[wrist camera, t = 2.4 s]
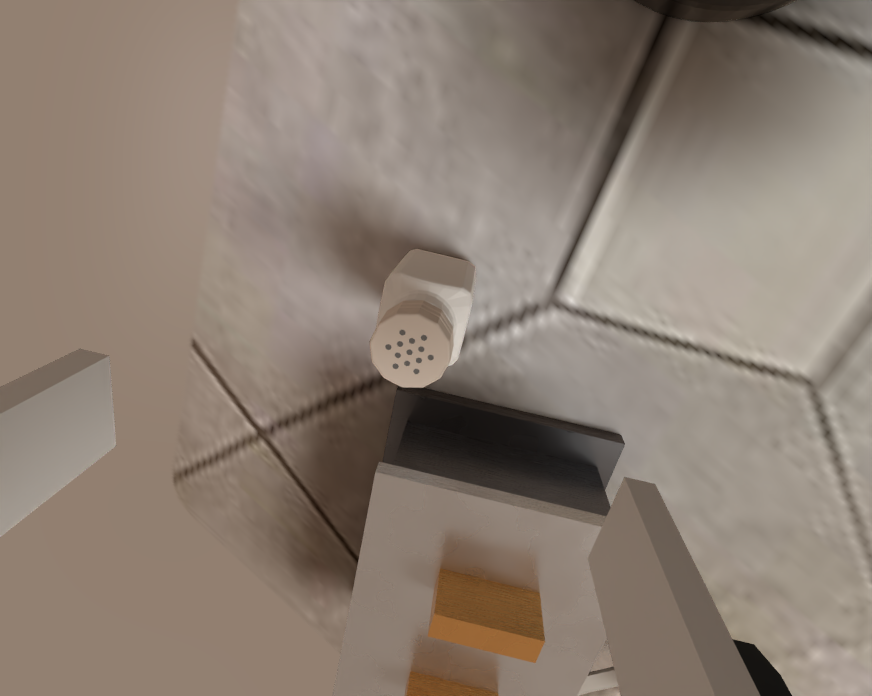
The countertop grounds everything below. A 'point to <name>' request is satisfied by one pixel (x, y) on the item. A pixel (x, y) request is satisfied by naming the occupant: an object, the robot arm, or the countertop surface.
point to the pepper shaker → (422, 318)
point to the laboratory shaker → (478, 554)
